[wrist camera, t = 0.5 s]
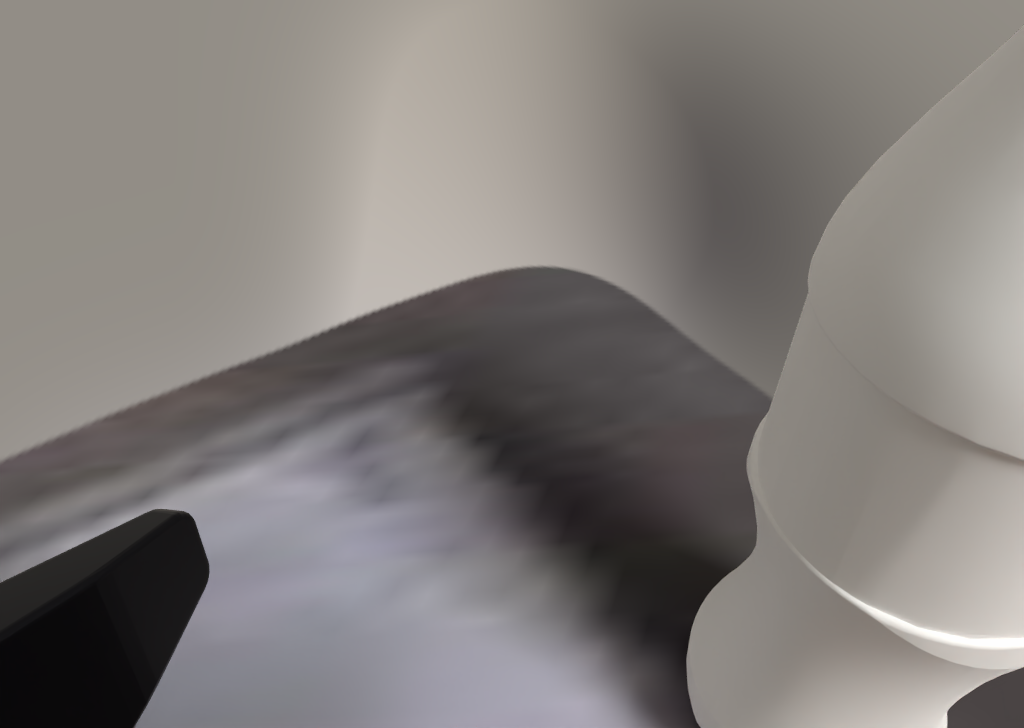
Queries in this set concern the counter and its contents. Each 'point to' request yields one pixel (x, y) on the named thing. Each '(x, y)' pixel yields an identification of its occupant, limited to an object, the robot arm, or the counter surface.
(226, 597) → the counter surface
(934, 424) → the water bottle
